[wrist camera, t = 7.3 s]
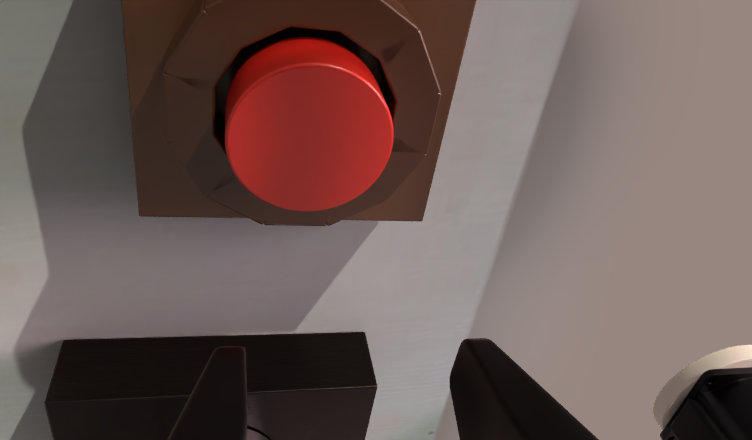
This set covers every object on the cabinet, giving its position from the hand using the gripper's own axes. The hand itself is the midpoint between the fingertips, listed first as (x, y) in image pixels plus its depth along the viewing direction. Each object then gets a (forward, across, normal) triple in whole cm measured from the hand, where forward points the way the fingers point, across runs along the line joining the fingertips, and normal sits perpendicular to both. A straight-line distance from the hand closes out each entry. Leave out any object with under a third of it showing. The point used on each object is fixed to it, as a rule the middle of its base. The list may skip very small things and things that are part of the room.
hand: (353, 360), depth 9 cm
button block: (+12, 0, 0) cm, 12 cm away
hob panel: (+12, +2, +16) cm, 20 cm away
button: (+8, 0, 0) cm, 8 cm away
